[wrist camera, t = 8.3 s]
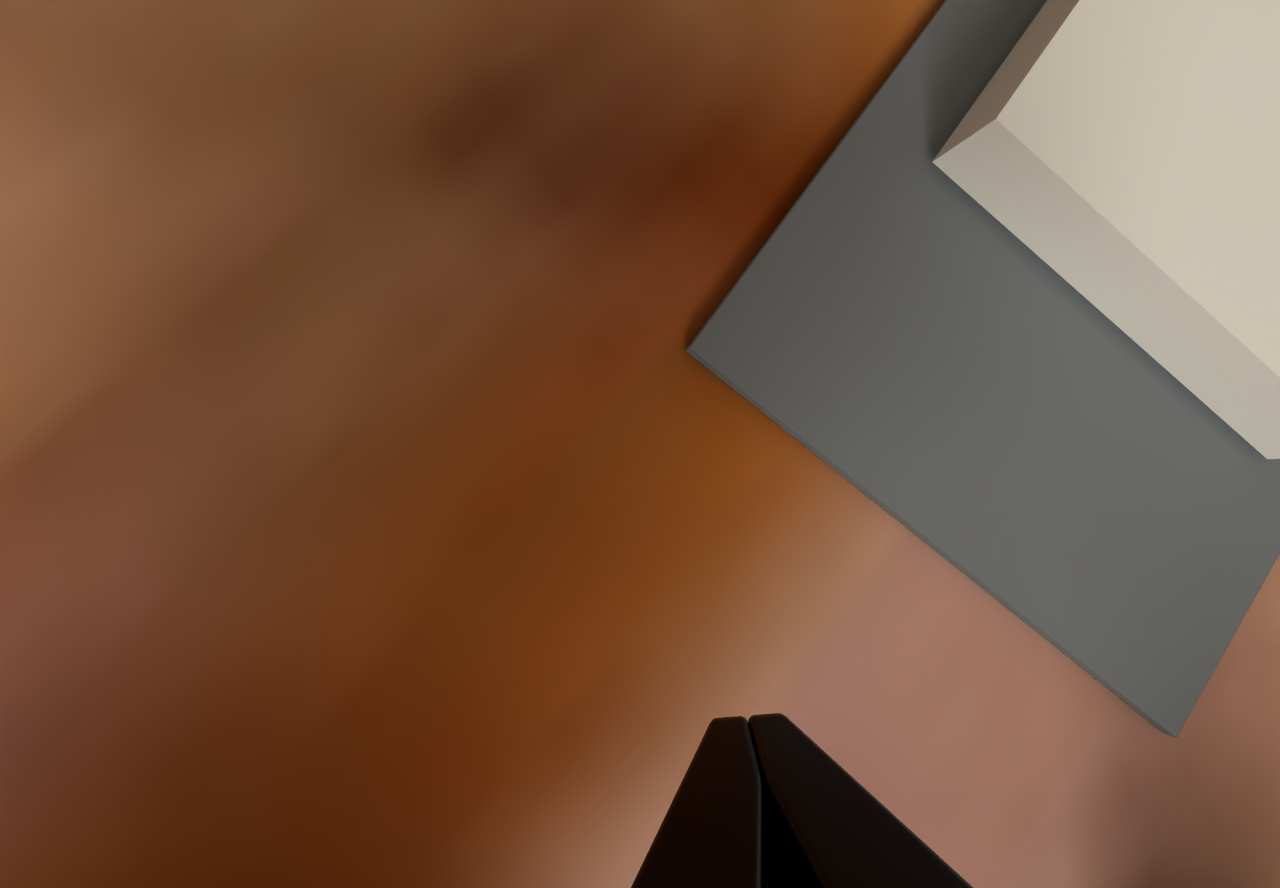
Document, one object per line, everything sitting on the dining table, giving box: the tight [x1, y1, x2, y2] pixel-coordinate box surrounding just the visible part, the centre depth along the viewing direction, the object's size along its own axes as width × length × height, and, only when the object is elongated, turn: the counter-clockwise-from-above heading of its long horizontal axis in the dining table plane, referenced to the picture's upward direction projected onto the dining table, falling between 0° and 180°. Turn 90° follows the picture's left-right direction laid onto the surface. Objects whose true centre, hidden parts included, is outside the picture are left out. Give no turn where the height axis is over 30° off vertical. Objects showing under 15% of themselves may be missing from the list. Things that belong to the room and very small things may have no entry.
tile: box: [932, 0, 1280, 459], centre depth 21 cm, size 3×12×9 cm
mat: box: [685, 0, 1280, 737], centre depth 22 cm, size 20×16×1 cm
